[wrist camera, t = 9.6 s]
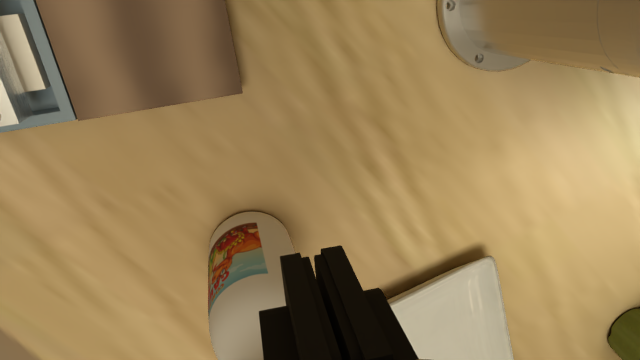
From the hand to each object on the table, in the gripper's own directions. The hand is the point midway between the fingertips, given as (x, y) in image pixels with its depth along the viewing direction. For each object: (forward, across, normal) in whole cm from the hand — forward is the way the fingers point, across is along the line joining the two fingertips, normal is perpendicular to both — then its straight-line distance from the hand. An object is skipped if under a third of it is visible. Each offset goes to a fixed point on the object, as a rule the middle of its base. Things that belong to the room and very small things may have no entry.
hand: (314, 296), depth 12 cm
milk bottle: (+28, +2, +14) cm, 31 cm away
